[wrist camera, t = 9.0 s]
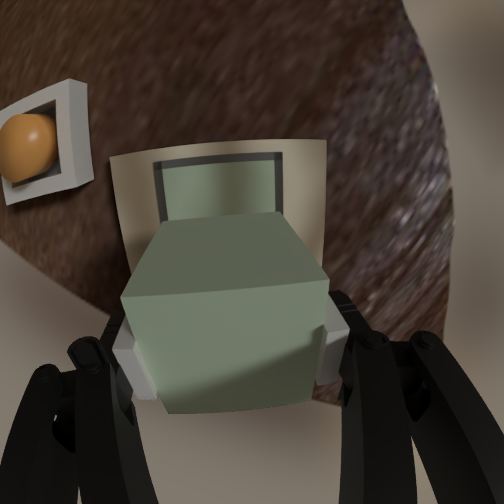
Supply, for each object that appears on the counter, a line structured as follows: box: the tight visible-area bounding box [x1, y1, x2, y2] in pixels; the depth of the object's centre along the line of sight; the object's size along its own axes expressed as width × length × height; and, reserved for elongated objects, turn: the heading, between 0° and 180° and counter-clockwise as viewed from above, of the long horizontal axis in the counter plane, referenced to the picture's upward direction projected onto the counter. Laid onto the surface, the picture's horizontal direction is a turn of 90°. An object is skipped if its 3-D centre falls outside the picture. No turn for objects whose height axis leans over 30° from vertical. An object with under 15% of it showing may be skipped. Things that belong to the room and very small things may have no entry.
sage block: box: [120, 212, 330, 414], centre depth 12 cm, size 6×6×7 cm
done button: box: [0, 114, 59, 182], centre depth 13 cm, size 5×5×3 cm
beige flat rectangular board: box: [110, 139, 326, 275], centre depth 21 cm, size 16×13×1 cm
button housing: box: [0, 79, 94, 205], centre depth 15 cm, size 8×8×3 cm
